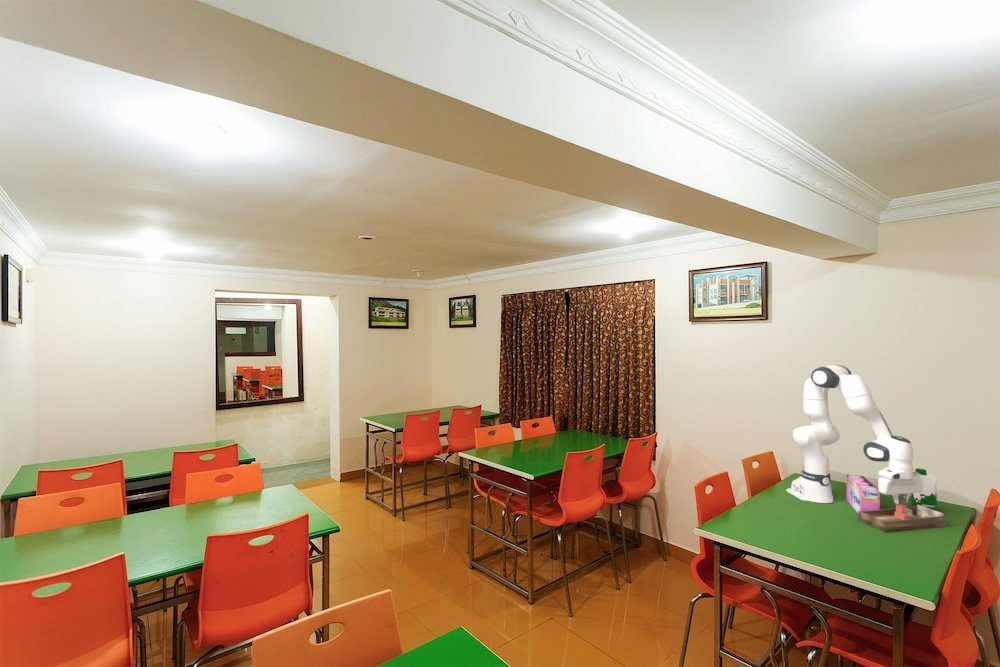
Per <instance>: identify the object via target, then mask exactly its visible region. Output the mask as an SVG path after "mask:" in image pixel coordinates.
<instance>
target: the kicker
mask: <svg viewBox="0 0 1000 667" xmlns="http://www.w3.org/2000/svg"><path fill="white" fill-rule="evenodd" d="M898 499H899V500H901V501H900V502H901V503H899V504H897V503H895V508H896V511H895V512H894V514H895V518H898V519H901V520H905V519H908V515H907V514H906V507H907V505H908V503H907V499H906V498H903V496H900V495H899V496H898Z"/></svg>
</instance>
